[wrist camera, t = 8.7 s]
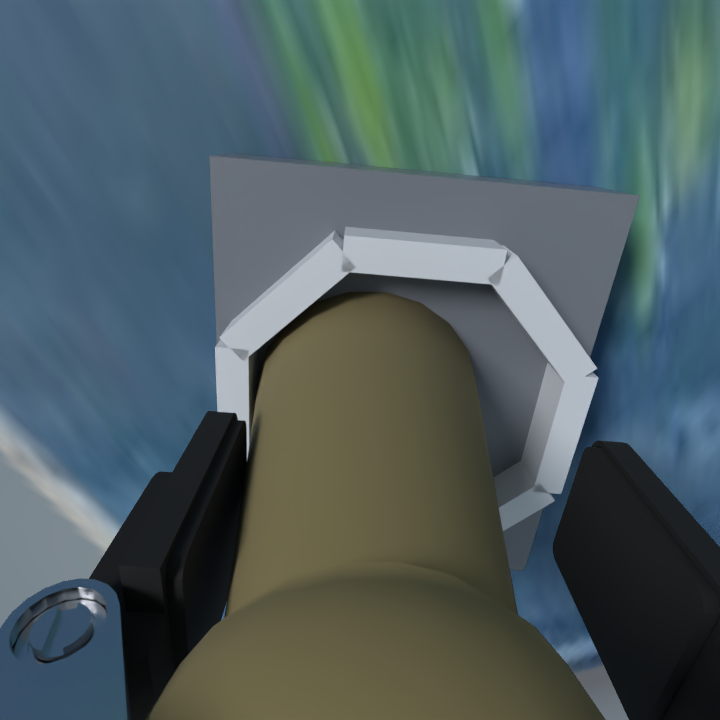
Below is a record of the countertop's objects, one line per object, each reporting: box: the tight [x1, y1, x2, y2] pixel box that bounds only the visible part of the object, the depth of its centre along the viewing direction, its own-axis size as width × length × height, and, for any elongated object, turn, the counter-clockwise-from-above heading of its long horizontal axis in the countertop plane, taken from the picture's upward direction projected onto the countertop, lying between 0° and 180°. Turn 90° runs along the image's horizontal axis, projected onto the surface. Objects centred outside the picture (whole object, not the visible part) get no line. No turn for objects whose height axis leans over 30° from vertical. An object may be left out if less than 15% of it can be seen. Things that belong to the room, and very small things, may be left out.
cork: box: [145, 292, 605, 720], centre depth 8 cm, size 6×6×11 cm
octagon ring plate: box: [210, 154, 640, 570], centre depth 14 cm, size 12×10×4 cm
